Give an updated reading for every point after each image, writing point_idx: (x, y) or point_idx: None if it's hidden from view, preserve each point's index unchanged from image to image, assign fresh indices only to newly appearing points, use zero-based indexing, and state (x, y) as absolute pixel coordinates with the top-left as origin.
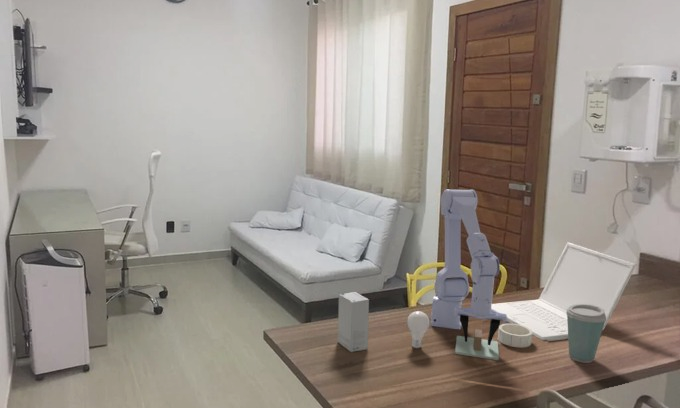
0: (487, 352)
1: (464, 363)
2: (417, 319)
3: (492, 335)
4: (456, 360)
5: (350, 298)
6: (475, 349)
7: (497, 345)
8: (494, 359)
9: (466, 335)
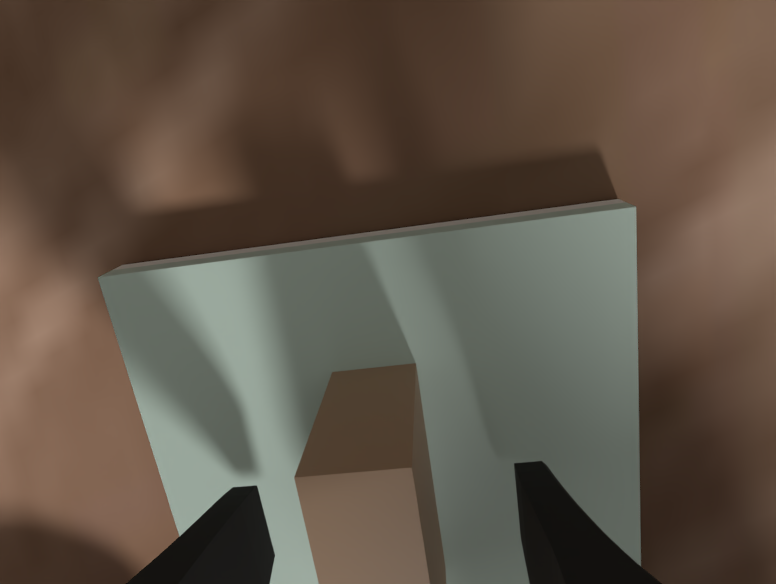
0: (251, 367)
1: (474, 7)
2: None
3: (141, 581)
4: (584, 49)
5: None
6: (391, 368)
7: None
8: (157, 263)
9: (550, 509)
